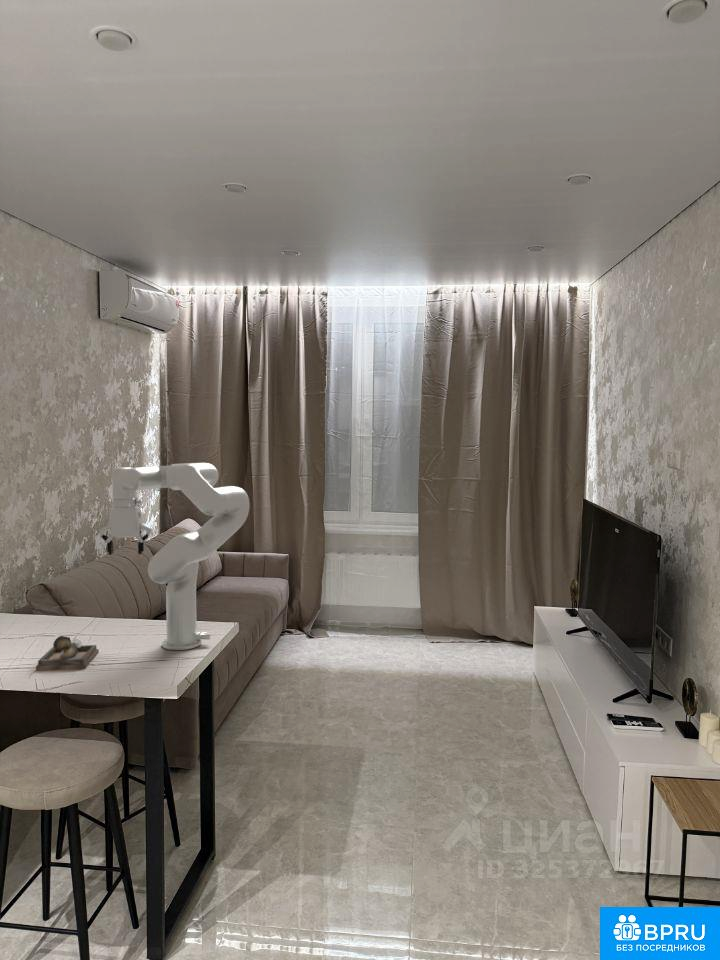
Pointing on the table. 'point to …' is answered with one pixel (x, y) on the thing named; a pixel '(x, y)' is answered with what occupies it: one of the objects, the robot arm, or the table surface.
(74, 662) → the wooden tray
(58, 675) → the table surface
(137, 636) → the table surface
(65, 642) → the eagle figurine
